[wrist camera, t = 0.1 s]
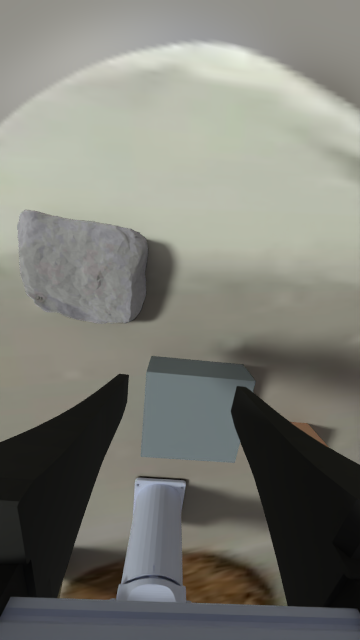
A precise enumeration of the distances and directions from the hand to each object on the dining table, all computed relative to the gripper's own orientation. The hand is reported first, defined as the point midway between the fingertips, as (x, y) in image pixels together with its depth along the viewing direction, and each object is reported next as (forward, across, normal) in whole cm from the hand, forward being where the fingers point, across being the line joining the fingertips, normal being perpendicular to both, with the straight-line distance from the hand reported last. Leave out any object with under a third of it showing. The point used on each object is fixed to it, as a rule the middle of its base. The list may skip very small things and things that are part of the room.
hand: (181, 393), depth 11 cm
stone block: (+11, +10, -6) cm, 16 cm away
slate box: (+10, -3, +9) cm, 14 cm away
